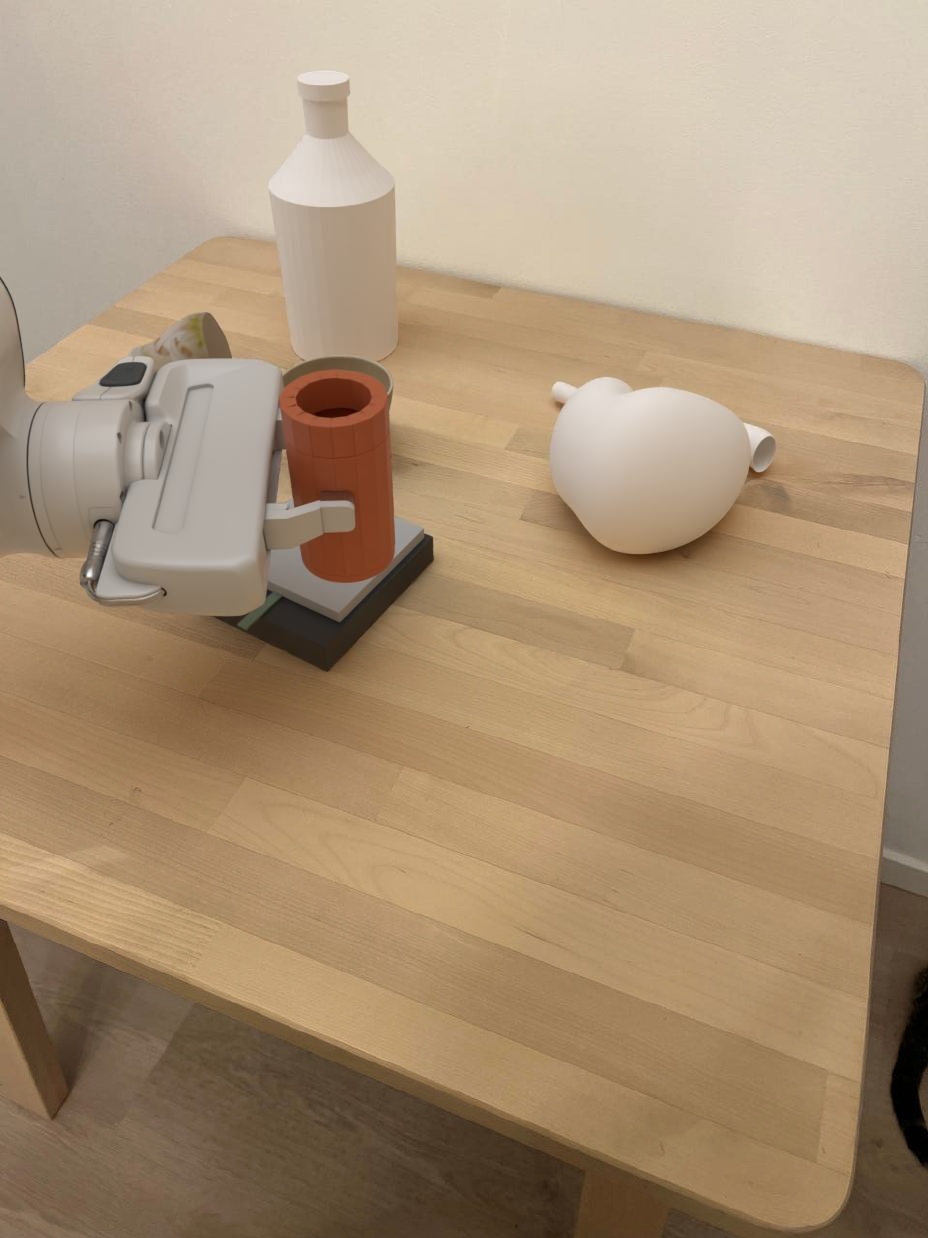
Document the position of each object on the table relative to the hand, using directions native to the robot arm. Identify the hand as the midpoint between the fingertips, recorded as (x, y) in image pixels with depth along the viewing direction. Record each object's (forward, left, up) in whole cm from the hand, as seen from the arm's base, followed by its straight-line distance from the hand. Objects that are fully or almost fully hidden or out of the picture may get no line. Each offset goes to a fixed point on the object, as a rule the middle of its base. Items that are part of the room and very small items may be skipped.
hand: (355, 471), depth 54 cm
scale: (-9, +5, -17) cm, 20 cm away
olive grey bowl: (-17, +20, -17) cm, 32 cm away
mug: (-37, +21, -17) cm, 46 cm away
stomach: (+6, +29, -17) cm, 34 cm away
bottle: (-29, +37, -17) cm, 50 cm away
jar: (-1, -1, -6) cm, 6 cm away
